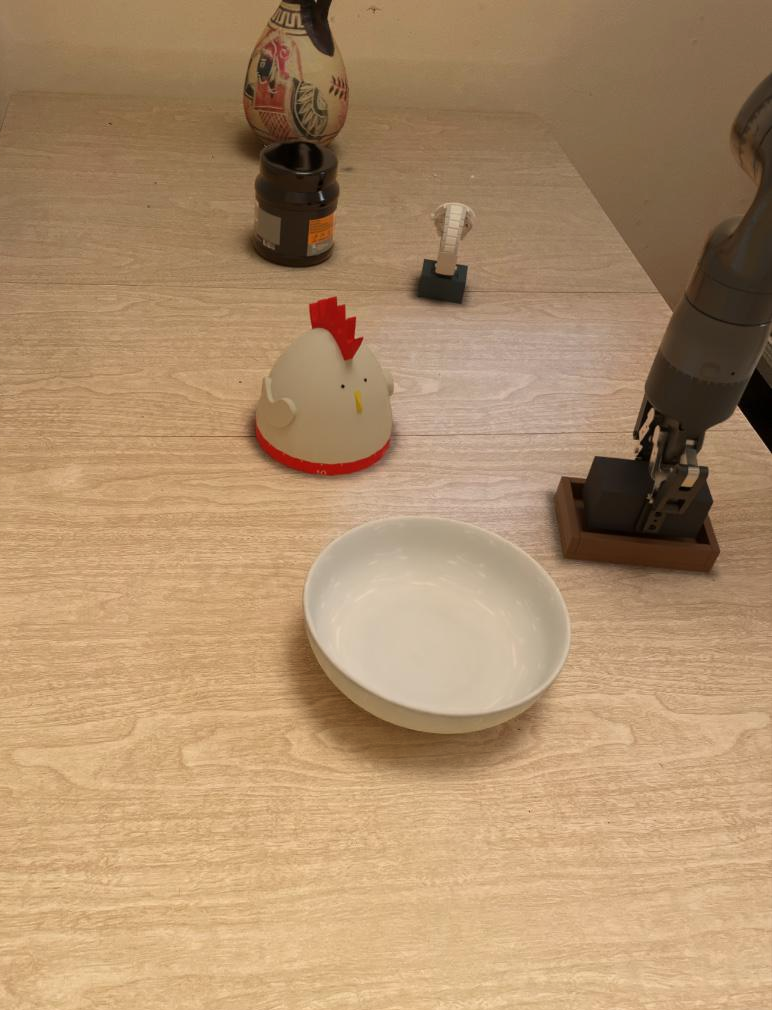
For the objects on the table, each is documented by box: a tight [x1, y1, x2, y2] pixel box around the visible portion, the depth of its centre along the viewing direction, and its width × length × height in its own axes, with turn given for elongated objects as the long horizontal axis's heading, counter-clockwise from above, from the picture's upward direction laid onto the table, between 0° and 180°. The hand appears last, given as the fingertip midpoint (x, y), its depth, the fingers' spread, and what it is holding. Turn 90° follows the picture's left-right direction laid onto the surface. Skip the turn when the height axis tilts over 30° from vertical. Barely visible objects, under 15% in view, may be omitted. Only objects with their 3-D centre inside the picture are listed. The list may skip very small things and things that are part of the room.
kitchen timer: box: [254, 295, 395, 476], centre depth 93 cm, size 14×14×15 cm
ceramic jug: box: [242, 0, 350, 149], centre depth 134 cm, size 17×15×30 cm
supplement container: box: [252, 141, 341, 268], centre depth 120 cm, size 10×10×12 cm
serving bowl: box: [301, 514, 573, 735], centre depth 77 cm, size 21×21×7 cm
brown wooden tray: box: [553, 475, 721, 574], centre depth 91 cm, size 14×9×3 cm, turn 87°
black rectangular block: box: [581, 455, 715, 538], centre depth 88 cm, size 10×5×4 cm, turn 87°
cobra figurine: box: [416, 202, 476, 305], centre depth 116 cm, size 6×8×11 cm
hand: (639, 510), depth 89 cm, fingers closed on black rectangular block, 5 cm apart
